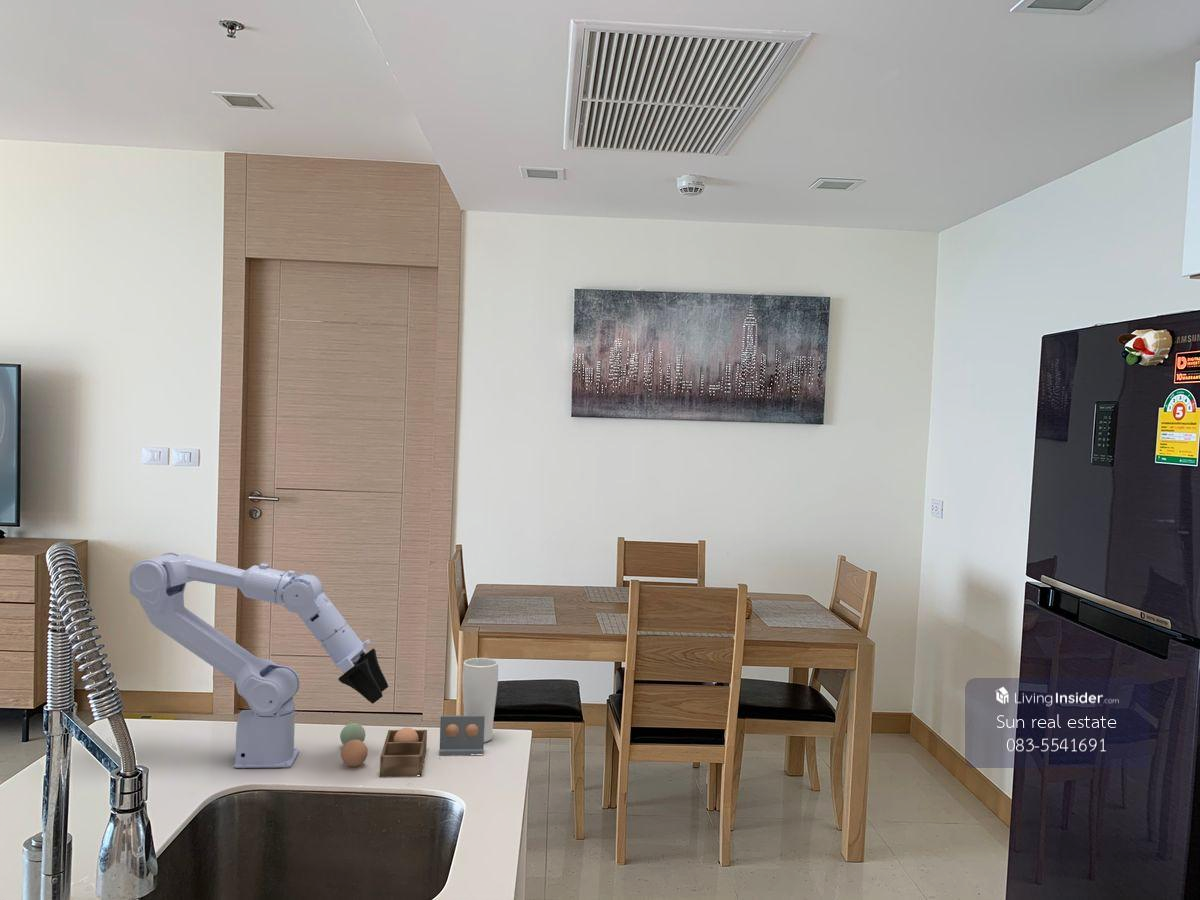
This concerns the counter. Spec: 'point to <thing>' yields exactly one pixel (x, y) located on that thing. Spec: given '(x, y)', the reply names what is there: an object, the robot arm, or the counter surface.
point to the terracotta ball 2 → (406, 735)
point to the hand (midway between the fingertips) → (380, 695)
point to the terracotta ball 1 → (354, 753)
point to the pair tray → (403, 755)
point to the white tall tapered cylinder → (480, 690)
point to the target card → (462, 735)
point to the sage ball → (352, 733)
